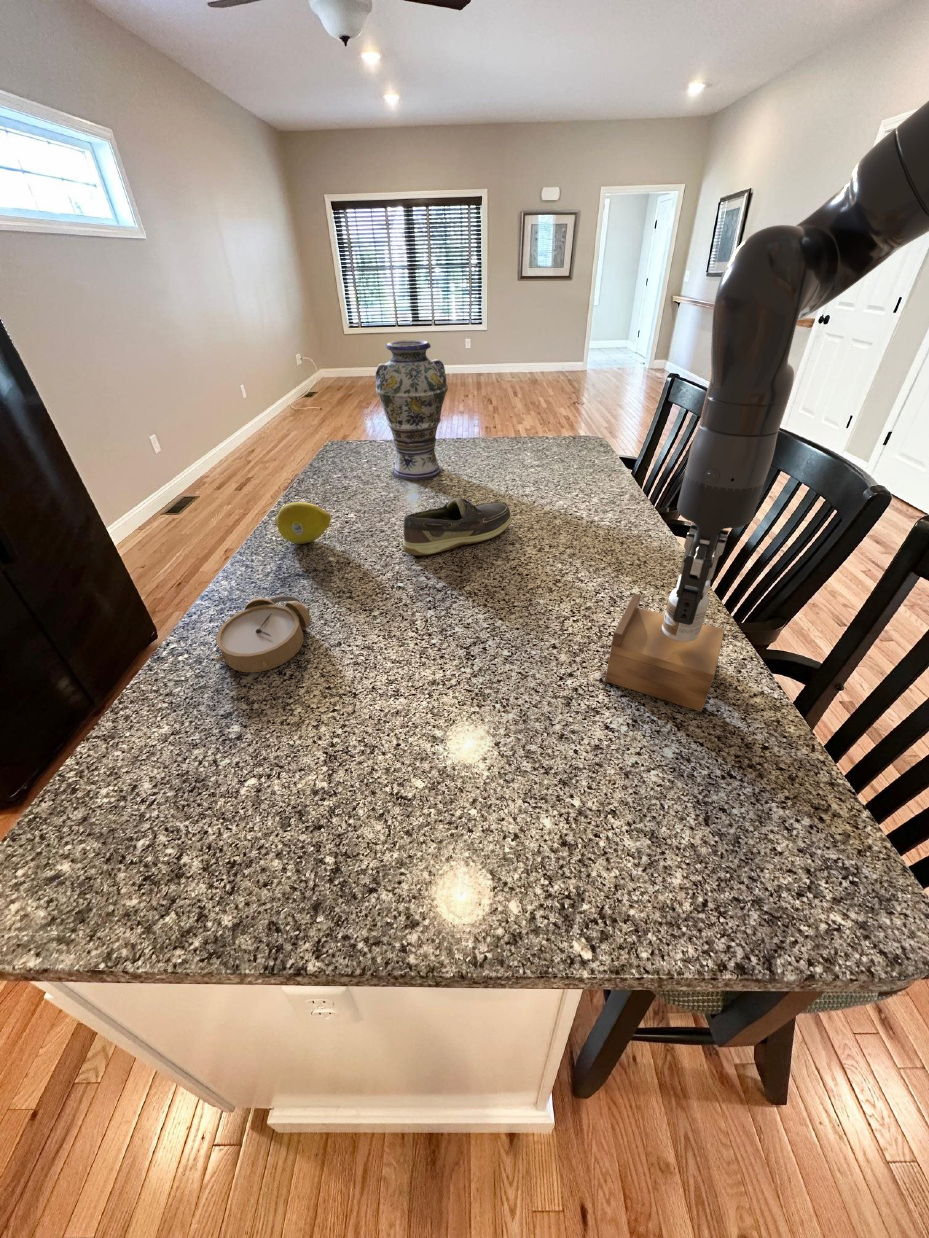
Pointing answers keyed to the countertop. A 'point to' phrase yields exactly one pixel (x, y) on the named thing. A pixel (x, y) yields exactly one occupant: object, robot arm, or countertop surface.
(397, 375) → the vase
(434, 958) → the countertop surface
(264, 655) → the alarm clock
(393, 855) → the countertop surface
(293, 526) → the lemon
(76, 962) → the countertop surface
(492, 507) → the boat shoe
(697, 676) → the shelf
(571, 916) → the countertop surface
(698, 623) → the pill bottle
